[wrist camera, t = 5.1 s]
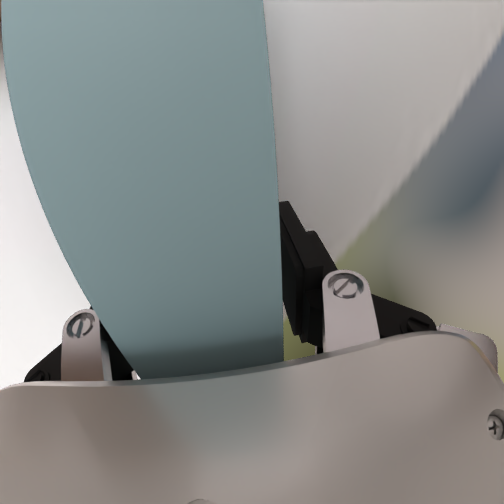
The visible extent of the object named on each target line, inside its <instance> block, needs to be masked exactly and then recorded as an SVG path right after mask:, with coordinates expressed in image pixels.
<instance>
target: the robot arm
mask: <svg viewBox="0 0 504 504" xmlns="http://www.w3.org/2000/svg"><path fill="white" fill-rule="evenodd" d="M279 220H280V242H281V269H282V300H283V303H284V306H285V309H286V312H287V315H288V319H289V322H290V325H291V328H292V331H293V334H294V335H299V337H300V340H301V342H302V343H304V342H308V343H310V344H312V345H315V355H312V356H308V357H303V358H298V359H294V360H289V361H283V362H278V363H273V364H267V365H261V366H256V367H249V368H243V369H237V370H230V371H223V372H215V373H207V374H199V375H190V376H180V377H169V378H156V379H141V380H138V379H137V374H136V372H135V371H134V369H133V368H132V367H131V365H130V364H129V362H128V361H127V360H126V358H125V357H124V355H123V354H122V353H121V351H120V350H119V348H118V347H117V345H116V344H115V342H114V341H113V340H112V338H111V337H110V335H109V333H108V332H107V330H106V329H105V327H104V326H103V324H102V323H101V321H100V319H99V318H98V316H97V315H96V313H95V311H94V310H93V308H92V306H91V307H90V309H83V310H80V311H78V312H75V313H74V314H73V315H71V316H70V317H69V318H68V320H67V321H66V323H65V324H64V327H63V334H62V343H61V344H60V345H59V346H58V347H57V348H55V349H54V350H53V351H52V352H51V353H49V354H48V355H47V356H46V357H45V358H44V359H42V360H41V361H40V362H39V363H38V364H37V365H35V366H34V367H33V368H32V369H31V370H30V371H29V372H28V373H27V375H26V377H25V380H24V383H19V384H14V385H10V386H8V387H5V388H3V389H1V390H0V504H504V383H503V382H502V380H501V378H500V377H499V375H498V360H497V348H496V345H495V343H494V342H493V340H492V339H491V338H489V337H488V336H486V335H484V334H480V333H476V332H472V331H468V330H464V329H460V328H456V327H452V326H449V325H445V324H440V326H439V327H438V326H436V325H435V323H434V322H433V320H432V319H431V318H430V317H428V316H427V315H425V314H423V313H422V312H419V311H416V310H413V309H410V308H408V307H405V306H403V305H400V304H397V303H395V302H392V301H389V300H387V299H384V298H381V297H378V296H375V295H373V294H371V292H370V288H369V284H368V282H367V280H366V279H365V278H364V277H363V276H362V275H360V274H359V273H357V272H354V271H351V270H338V269H337V268H336V266H335V264H334V262H333V261H332V259H331V257H330V255H329V254H328V252H327V250H326V248H325V247H324V245H323V243H322V242H321V240H320V238H319V237H318V235H317V233H316V232H315V231H308V232H306V231H305V229H304V228H303V226H302V224H301V222H300V220H299V219H298V217H297V215H296V213H295V212H294V210H293V208H292V206H291V205H290V203H289V201H285V202H279Z"/></svg>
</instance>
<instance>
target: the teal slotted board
mask: <svg viewBox="0 0 504 504" xmlns="http://www.w3.org/2000/svg"><path fill="white" fill-rule="evenodd" d="M1 25H2V43H3V54H4V64H5V71H6V78H7V85H8V90H9V96H10V101H11V106H12V111H13V115H14V120H15V124H16V128H17V132H18V136H19V139H20V143H21V147H22V150H23V153H24V157H25V160H26V163H27V166H28V169H29V172H30V175H31V178H32V181H33V184H34V187H35V189H36V192H37V195H38V197H39V200H40V203H41V205H42V208H43V210H44V213H45V215H46V217H47V220H48V222H49V224H50V227H51V229H52V231H53V233H54V236H55V238H56V240H57V242H58V244H59V246H60V249H61V251H62V253H63V255H64V257H65V259H66V261H67V263H68V265H69V267H70V269H71V271H72V272H73V274H74V276H75V278H76V280H77V282H78V284H79V285H80V287H81V289H82V291H83V293H84V294H85V296H86V298H87V300H88V301H89V303H90V305H91V306H92V308H93V310H94V311H95V313H96V315H97V316H98V318H99V319H100V321H101V323H102V324H103V326H104V327H105V329H106V330H107V332H108V333H109V335H110V337H111V338H112V340H113V341H114V342H115V344H116V345H117V347H118V348H119V350H120V351H121V353H122V354H123V355H124V357H125V358H126V360H127V361H128V362H129V364H130V365H131V367H132V368H133V369H134V371H135V372H136V373H137V375H138V376H139V377H140V379H156V378H169V377H180V376H190V375H199V374H207V373H215V372H223V371H230V370H237V369H243V368H249V367H256V366H261V365H267V364H273V363H278V362H283V361H284V357H283V356H284V353H283V352H284V351H283V301H282V269H281V242H280V220H279V199H278V181H277V164H276V148H275V133H274V119H273V106H272V93H271V81H270V70H269V59H268V48H267V38H266V28H265V18H264V9H263V0H1Z"/></svg>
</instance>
